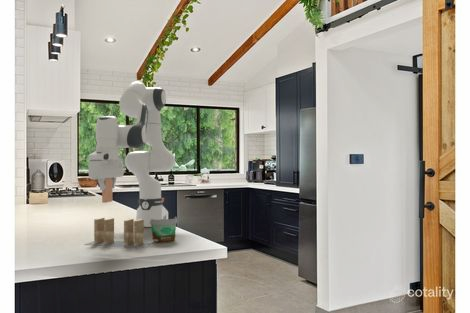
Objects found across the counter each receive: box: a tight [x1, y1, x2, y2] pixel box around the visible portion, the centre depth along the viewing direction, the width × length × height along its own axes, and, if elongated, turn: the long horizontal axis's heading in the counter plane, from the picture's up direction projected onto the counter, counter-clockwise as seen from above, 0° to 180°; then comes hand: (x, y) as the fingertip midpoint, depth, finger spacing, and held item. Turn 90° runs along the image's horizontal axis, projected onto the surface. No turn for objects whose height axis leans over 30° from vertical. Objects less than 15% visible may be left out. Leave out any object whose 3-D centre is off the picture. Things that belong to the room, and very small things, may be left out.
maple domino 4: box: [134, 219, 145, 246], centre depth 167 cm, size 2×5×10 cm, turn 165°
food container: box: [150, 216, 179, 244], centre depth 173 cm, size 12×6×10 cm, turn 126°
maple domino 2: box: [104, 217, 115, 245], centre depth 170 cm, size 2×5×10 cm, turn 165°
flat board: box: [83, 240, 154, 249], centre depth 169 cm, size 10×26×1 cm, turn 75°
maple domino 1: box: [93, 217, 105, 244], centre depth 171 cm, size 2×5×10 cm, turn 165°
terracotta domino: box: [101, 178, 114, 203], centre depth 169 cm, size 2×5×10 cm, turn 164°
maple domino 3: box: [123, 218, 135, 246], centre depth 168 cm, size 2×5×10 cm, turn 165°
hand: (107, 189), depth 169 cm, fingers closed on terracotta domino, 5 cm apart
